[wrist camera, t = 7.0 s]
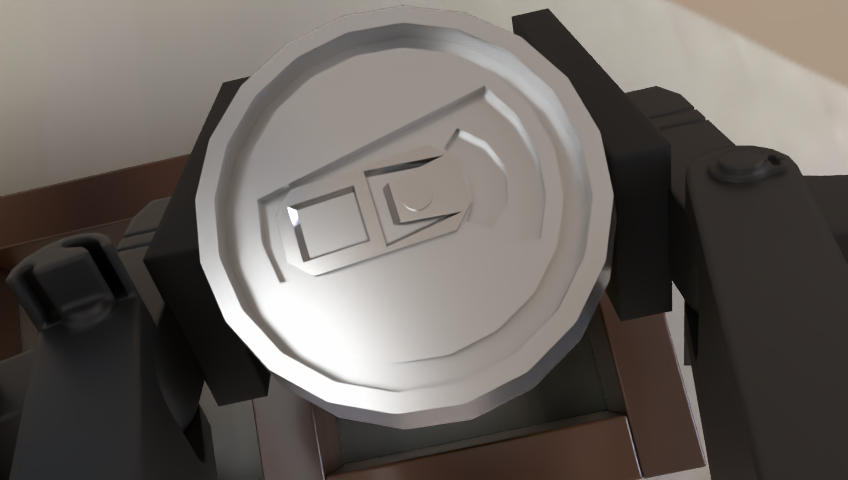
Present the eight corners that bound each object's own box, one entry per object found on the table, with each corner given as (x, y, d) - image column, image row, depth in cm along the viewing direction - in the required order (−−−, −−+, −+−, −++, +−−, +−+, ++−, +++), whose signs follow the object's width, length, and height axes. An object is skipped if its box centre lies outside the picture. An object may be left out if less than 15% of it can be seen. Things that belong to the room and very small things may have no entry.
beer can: (384, 427, 19) (237, 499, 8) (332, 246, 20) (133, 67, 9) (569, 367, 19) (707, 349, 8) (506, 189, 20) (542, -68, 9)
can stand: (-11, 594, 19) (-82, 625, 17) (-34, 236, 21) (-100, 217, 19) (678, 454, 19) (707, 465, 16) (581, 98, 21) (594, 61, 18)
